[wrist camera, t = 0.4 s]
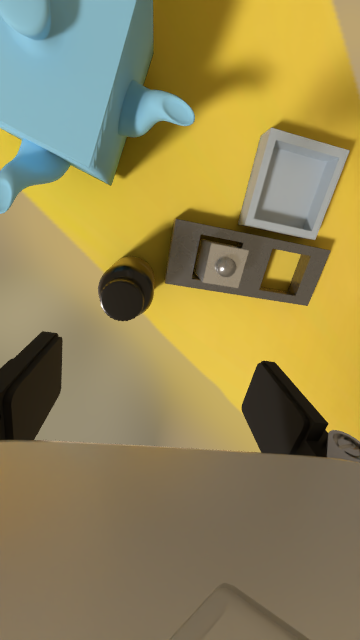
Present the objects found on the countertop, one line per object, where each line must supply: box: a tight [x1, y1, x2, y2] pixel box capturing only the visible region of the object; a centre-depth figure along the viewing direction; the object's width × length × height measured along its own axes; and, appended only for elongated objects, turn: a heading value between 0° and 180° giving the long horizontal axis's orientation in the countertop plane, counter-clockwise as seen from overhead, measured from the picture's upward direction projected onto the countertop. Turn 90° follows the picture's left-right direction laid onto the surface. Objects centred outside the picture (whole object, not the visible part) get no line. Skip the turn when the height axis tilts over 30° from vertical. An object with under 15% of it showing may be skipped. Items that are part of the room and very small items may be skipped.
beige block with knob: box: [194, 239, 249, 288], centre depth 33 cm, size 5×5×8 cm
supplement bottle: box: [98, 256, 154, 321], centre depth 31 cm, size 7×7×12 cm
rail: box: [165, 219, 330, 306], centre depth 36 cm, size 24×9×2 cm, turn 79°
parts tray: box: [238, 128, 350, 240], centre depth 32 cm, size 11×11×3 cm
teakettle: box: [0, 0, 195, 214], centre depth 21 cm, size 19×19×15 cm
